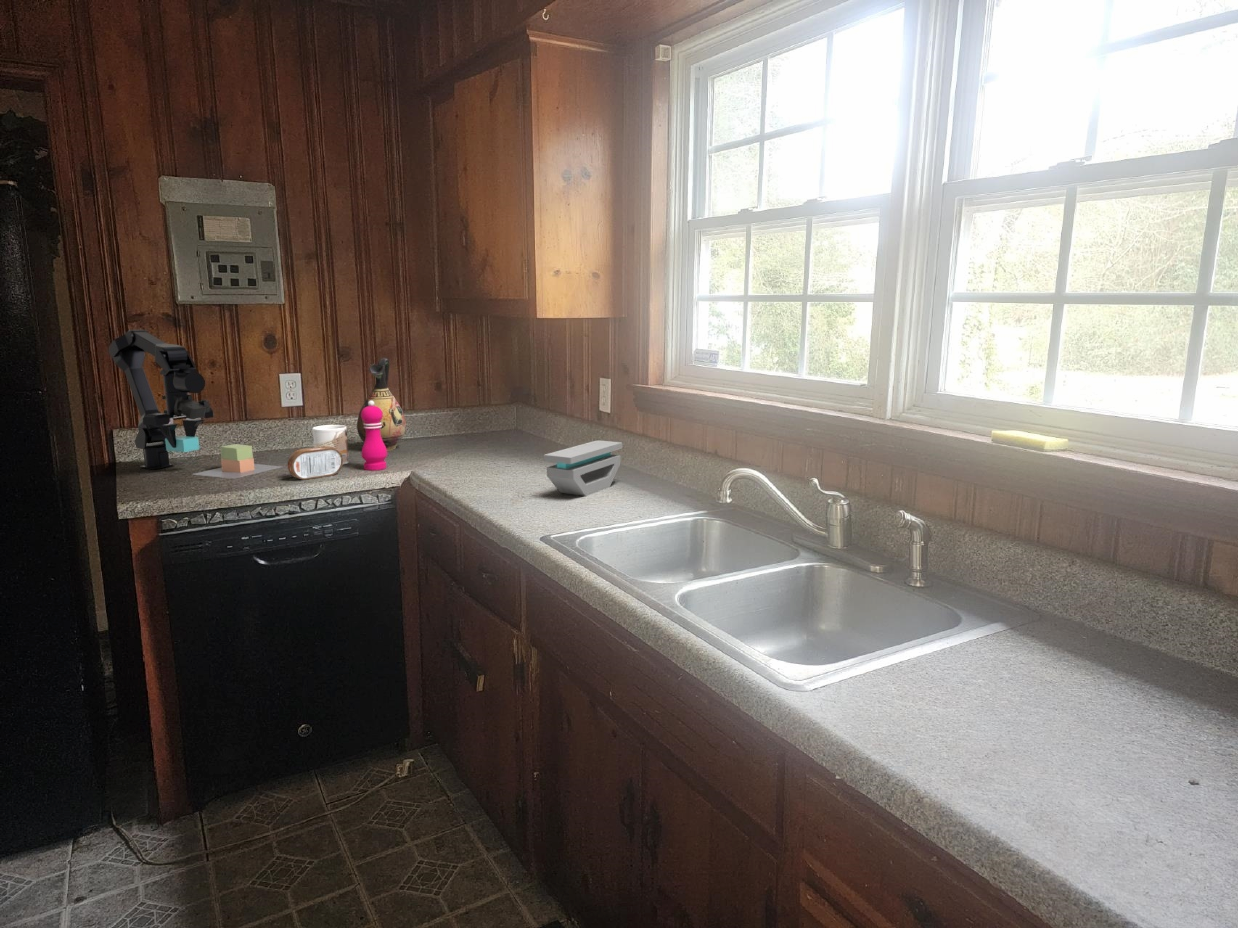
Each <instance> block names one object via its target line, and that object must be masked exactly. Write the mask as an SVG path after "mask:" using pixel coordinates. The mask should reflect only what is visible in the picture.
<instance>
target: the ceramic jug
mask: <svg viewBox="0 0 1238 928" xmlns="http://www.w3.org/2000/svg"><path fill="white" fill-rule="evenodd" d="M368 371H369V373H370V374H371V375H373V376H374V377H375V385H374V387H373V389H372V390H371V392H370V393H369V394H368V396H367V398H366V400H365V401H364V402H363V404H362V406H361V408H360V410H359V413H358V416H357V423H356V431H357V433H358V436H359V438H360V440H361V441H362V442H363V443H364V442H365V438H366V430H365V428H364V423H365V422H364V420H363V419H362V418H361V412H362V410H363V409H364V408H365V407H367V406H369V405H368V402H369V401H374V406H377V407H379V408H380V409H381V410H382V413H383V417H382V419H381V421H380V422H381V426H382V427H381V428H380V433H381V438H382V441H383V443H384V445H385V447H386V449H387V452H390V451H391V452H392V451H394V450H396V448H397V445H398V444H399V443H400V441H401V440H402V438H403V437H404V435H405V432H406V427H407V426H406V425H407V424H406V418H405V414H404V412H403V408H402V407H401V406H400V403H399V401H397V399H396V398H395V396H394V395H393V394H392V392H391V391H390V389H389V386H388V384H389V383H388V381H389V376H390V374H389V373H390V359H388V358H386V357H383V358H380V359H379V360H378V362H377V364H376V363H372V364H371V365H370V366H369V368H368Z"/></svg>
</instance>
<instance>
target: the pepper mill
mask: <svg viewBox="0 0 1238 928" xmlns="http://www.w3.org/2000/svg"><path fill="white" fill-rule="evenodd" d="M368 405H369V406H367V407H365V408H364V409H363V410H362V412H361V418H362V419H363V420H364V422H365V423H364V428H365V430H366V438H365V442H363V445H362V449H361V457H362V459H363V460H364V461H365V462H364V463H363V469H364V470H365V471H381V470H385V469H387V462H386V461H385V459H386V458H387V456H388V451H387V449H386V447H385V445H384V443H383V441H382V438H381V433H380V428H381V427H382V426H381V422H380V421H381V419H382V417H383V413H382V410H381V409H380V408H379V407H377V406H374V401H369V402H368Z"/></svg>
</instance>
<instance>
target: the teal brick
mask: <svg viewBox="0 0 1238 928" xmlns="http://www.w3.org/2000/svg"><path fill="white" fill-rule="evenodd" d="M199 441H200V440H199V437H198V436H195V437H189V436H186V435H177V436H176V448H173V447H172V446H171V445H170V443H169V442H168V440H167V439H166V438H165V442H166V451H168V452H177V453H186V452H187V453H188V452H194V451H197V450H200V443H199Z"/></svg>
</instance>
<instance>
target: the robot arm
mask: <svg viewBox="0 0 1238 928" xmlns="http://www.w3.org/2000/svg"><path fill="white" fill-rule="evenodd" d="M108 353H109V356H110V357H111V358H112V360H113V362H114V365H115V366H117V367H118V368H119V369H121V370H122V371H123V372H124V374H125V377H126V380H127V382H128V386H129V388H130V391H131V393H132V395H133V399H134V401H135V404H136V408H137V410H138V413H139V415H140V418H139V422H138V424H137V428H138V432H137V434H136V436H135V439H134V446H135V447H136V449H142V454H143V461H144V465H140V466H139V468H140V469H147V470H149V469H150V470H159V469H165V468H168V467H169V468H170V467H172V466H175V464H174V463H170V457H169V451H166V442H165V438H166V439H167V440H168V442H169V443H170V445H171V446H172V447H173V448H176V437H177V436H176V428H177V427H178V423H175V421H176V420H177V421H178V420H182V421H181V423H182V425H183V429H184V430H183V431H184V433H185V436H189V437H196V433H197V429H198V427H199V425H201V424H202V423H203V422H205V421H206V420H205V419H210V418H215V416H214V415H215V414H214V410H213V409H212V408H211V406H210V405H211V404H210V400H208V399H200V400H199V401H198V400H196V401H195V400H194V399H193V395H192V394H198V393H200V392H203V390H204V389H205V386H206V380H205V377H203V375H202V374H200V373H198V371H197V370H198V369H197V367H196V363H195V361H194V360H193V358H192V357H191V355H190V353H189V351H188V350H187V348H186V347H185V346H183V345H179V344H172V343H167V342H165V341H163V340H162V339H160V338H157V337H156V336H154V335H153V334H151V333H149V331H148V330H146V329H129V330H127V331H126V332H125V333H124V334H123V335H121V336H118V337H117V338H115V339H114V340H113V341H111V343H110V345H109V346H108ZM145 353H148V354H149V355H151V356H153V357H154V362H155V363H157V364H158V366H160V368H161V370H160V371H159V375H161V376H162V377H163V378H162V379H163V387H164V388H163V389H164V394H163V395H161V398H162V400H165V403H166V404H165V406H166V409H164V410H163V413H162V412H161V411H160V410H159V408H158V405H157V403H156V400H155V396H154V394H153V391H152V389H151V386H150V384H149V381H148V378H147V375H146V372H145V369H144V368H143V366H144V361H145V360H146V354H145Z"/></svg>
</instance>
